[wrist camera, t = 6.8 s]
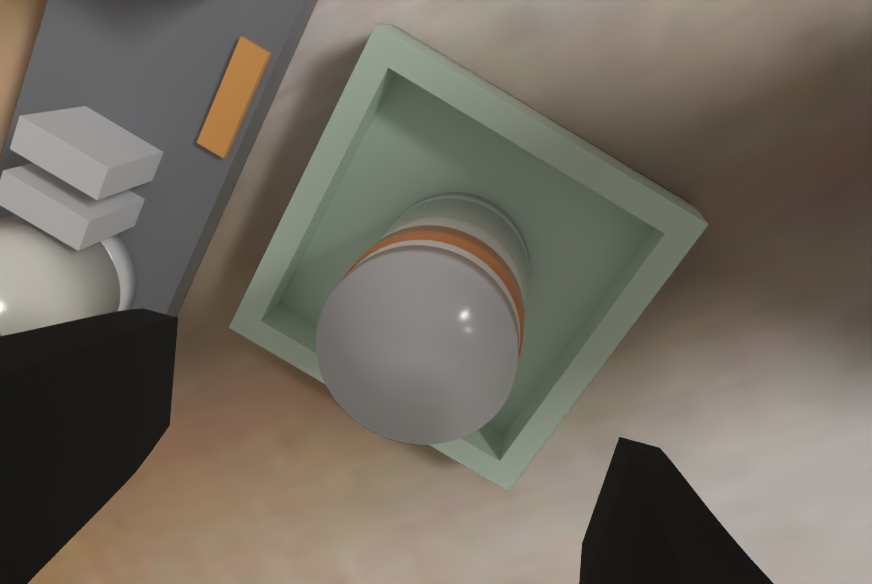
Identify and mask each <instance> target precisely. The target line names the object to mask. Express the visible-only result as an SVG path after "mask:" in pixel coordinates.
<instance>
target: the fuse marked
mask: <svg viewBox="0 0 872 584" xmlns="http://www.w3.org/2000/svg"><path fill="white" fill-rule="evenodd" d="M529 269H530V261H529V253H528V249H527V245H526V242H525V239H524V237H523V234H522V233H521V231H520V229H519V227H518V226H517V225H516V223H515V222H514V221H513V219H512V218H511V217H510V216H509V215H508V214H507V213H506V212H505V211H504V210H502V209H501V208H500V207H499V206H497V205H496V204H494V203H492V202H491V201H489V200H487V199H484V198H482V197H480V196H476V195H473V194H468V193H461V192H448V193H440V194H436V195H432V196H429V197H427V198H424V199H422V200H420V201H418V202H417V203H415V204H413V205H412V206H411V207H409V208H408V209H407V210H406V211H405V212H404V213H403V214H402V215H401V216H400V217H399V218H398V219H397V220H396V221H395V223H394V224H393V225H392V226H391V227H390V228H389V229H388V230H387V232H386V233H385V234H384V235H383V236H382V237H381V238H380V239H379V240H378V241H377V242H376V243H375V244H373V245H372V246H371V247H370V248H369V249H368V250H367V251H366V252H365V253H364V254H363V255H362V256H361V257H360V258H359V259H358V260H357V261H356V263H355V264H354V265H353V266H352V267H351V268H350V269H349V271H348V272H347V273H346V275H345V276H344V278H343V279H342V281H341V283H340V284H339V285H338V286H337V287H336V288H335V290H334V291H333V292H332V294H331V295H330V297H329V298H328V300H327V302H326V303H325V305H324V307H323V309H322V312H321V315H320V317H319V320H318V325H317V330H316V343H315V344H316V356H317V361H318V366H319V369H320V372H321V375H322V378H323V380H324V382H325V384H326V386H327V388H328V390H329V392H330V393H331V395H332V396H333V398H334V399H335V401H336V402H337V403H338V404H339V405H340V407H341V408H342V409H343V410H344V411H345V412H346V413H347V414H348V415H349V416H350V417H352V418H353V419H354V420H355V421H357V422H358V423H359V424H361V425H362V426H363V427H365V428H367V429H369V430H370V431H372V432H374V433H376V434H378V435H381V436H383V437H385V438H388V439H391V440H395V441H398V442H403V443H408V444H418V445H431V444H440V443H446V442H450V441H454V440H457V439H460V438H463V437H465V436H467V435H469V434H471V433H473V432H475V431H476V430H478V429H480V428H481V427H483V426H484V425H485V424H486V423H487V422H489V421H490V420H491V419H492V418H493V417H494V416H495V415H496V414H497V413H498V411H499V410H500V409H501V407H502V406H503V404H504V403H505V401H506V399H507V397H508V395H509V393H510V391H511V389H512V386H513V383H514V380H515V375H516V369H517V363H518V360H519V357H520V354H521V348H522V342H523V334H524V326H525V301H526V294H527V286H528V279H529Z"/></svg>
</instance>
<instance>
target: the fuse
mask: <svg viewBox="0 0 872 584" xmlns="http://www.w3.org/2000/svg"><path fill="white" fill-rule="evenodd" d="M135 294H136V273H135V268H134V264H133V261H132V258H131V256H130V254H129V251H128V249H127V247H126V246H125V244H124V242H123V241H122V239H121V238H120V237H119V235H118V234H116V235H113V236H111V237H109V238H107V239H104V240H102V241H100V242H98V243H95V244H93V245H91V246H89V247H86V248H84V249H82V250H79V251H78V250H76V249H74V248H72V247H71V246H69V245H67V244H66V243H64V242H62V241H60V240H59V239H57V238H55V237H54V236H52V235H50V234H49V233H47V232H45V231H43V230H42V229H40V228H38V227H37V226H35V225H33V224H31V223H30V222H28V221H26V220H25V219H23V218H21V217H19V216H18V215H16V214H15V215H12V216H9V217H6V218H3V219H0V336H4V335H9V334H14V333H19V332H24V331H28V330H33V329H37V328H42V327H46V326H51V325H55V324H60V323H64V322H69V321H73V320H78V319H82V318H87V317H92V316H96V315H101V314H106V313H112V312H117V311H123V310H130V309H131V307H132V305H133V302H134V299H135Z"/></svg>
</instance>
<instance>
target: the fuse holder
mask: <svg viewBox="0 0 872 584" xmlns="http://www.w3.org/2000/svg"><path fill="white" fill-rule="evenodd" d="M316 3H317V0H48V1H47V5H46V8H45V11H44V15H43V18H42V21H41V25H40V28H39V31H38V35H37V38H36V41H35V45H34V48H33V51H32V55H31V58H30V61H29V65H28V68H27V71H26V75H25V78H24V81H23V85H22V88H21V91H20V95H19V98H18V101H17V105H16V108H15V111H14V115H13V118H12V121H11V125H10V128H9V131H8V135H7V138H6V142H5V145H4V148H3V152H2V155H1V158H0V219H3V218H6V217H9V216H12V215H15V214H16V215H18V216H19V217H21V218H23V219H25V220H26V221H28V222H30V223H31V224H33V225H35V226H37V227H38V228H40V229H42V230H43V231H45V232H47V233H49V234H50V235H52V236H54V237H55V238H57V239H59V240H60V241H62V242H64V243H66V244H67V245H69V246H71V247H72V248H74V249H76V250H78V251H79V250H82V249H84V248H86V247H89V246H91V245H93V244H95V243H98V242H100V241H102V240H104V239H107V238H109V237H111V236H113V235H116V234H118V235H119V237H120V238H121V239H122V241H123V242H124V244H125V246H126V247H127V249H128V251H129V254H130V256H131V258H132V261H133V264H134V268H135V273H136V294H135V299H134V302H133V305H132V307H131V309H140V308H144V309H148V310H151V311H155V312H159V313H162V314H166V315H170V316H174V317H176V316H177V314H178V312H179V310H180V307H181V305H182V303H183V301H184V298H185V296H186V294H187V292H188V289H189V287H190V285H191V283H192V280H193V278H194V276H195V274H196V272H197V269H198V267H199V265H200V263H201V260H202V258H203V256H204V254H205V251H206V249H207V247H208V245H209V242H210V240H211V238H212V236H213V233H214V231H215V229H216V227H217V224H218V222H219V220H220V218H221V216H222V213H223V211H224V209H225V207H226V204H227V202H228V200H229V198H230V195H231V193H232V191H233V189H234V186H235V184H236V182H237V180H238V177H239V175H240V173H241V171H242V168H243V166H244V164H245V162H246V159H247V157H248V155H249V153H250V151H251V148H252V146H253V144H254V142H255V139H256V137H257V135H258V133H259V130H260V128H261V126H262V124H263V121H264V119H265V117H266V115H267V112H268V110H269V108H270V106H271V103H272V101H273V99H274V97H275V95H276V92H277V90H278V88H279V86H280V83H281V81H282V79H283V77H284V74H285V72H286V70H287V68H288V65H289V63H290V61H291V59H292V56H293V54H294V52H295V50H296V47H297V45H298V43H299V41H300V38H301V36H302V34H303V32H304V30H305V27H306V25H307V23H308V21H309V18H310V16H311V14H312V12H313V9H314V7H315V5H316Z"/></svg>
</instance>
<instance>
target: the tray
mask: <svg viewBox="0 0 872 584" xmlns="http://www.w3.org/2000/svg"><path fill="white" fill-rule="evenodd" d="M448 192H461V193H468V194H473V195H476V196H480V197H482V198H484V199H487V200H489V201H491V202H492V203H494V204H496V205H497V206H499V207H500V208H501V209H502V210H504V211H505V212H506V213H507V214H508V215H509V216H510V217H511V218H512V219H513V221H514V222H515V223H516V225H517V226H518V227H519V229H520V231H521V233H522V234H523V237H524V239H525V242H526V245H527V249H528V253H529V261H530V269H529V279H528V286H527V294H526V301H525V326H524V334H523V342H522V348H521V354H520V357H519V360H518V363H517V369H516V375H515V380H514V383H513V386H512V389H511V391H510V393H509V395H508V397H507V399H506V401H505V403H504V404H503V406H502V407H501V409H500V410H499V411H498V413H497V414H496V415H495V416H494V417H493V418H492V419H491V420H490V421H489V422H487V423H486V424H485V425H484V426H483V427H481V428H480V429H478V430H476V431H475V432H473V433H471V434H469V435H467V436H465V437H463V438H460V439H457V440H454V441H450V442H446V443H440V444H431V445H430V446H432V447H433V448H435V449H437V450H438V451H440V452H442V453H444V454H445V455H447V456H449V457H450V458H452V459H454V460H455V461H457V462H459V463H461V464H462V465H464V466H466V467H467V468H469V469H471V470H473V471H474V472H476V473H478V474H479V475H481V476H483V477H485V478H486V479H488V480H490V481H491V482H493V483H495V484H497V485H498V486H500V487H502V488H503V489H505V490H507V491H509V490H510V488H511V487H512V486H513V484H514V483H515V482H516V480H517V479H518V478H519V476H520V475H521V474H522V472H523V471H524V470H525V468H526V467H527V466H528V464H529V463H530V462H531V460H532V459H533V458H534V456H535V455H536V454H537V452H538V451H539V450H540V448H541V447H542V446H543V444H544V443H545V442H546V440H547V439H548V438H549V436H550V435H551V434H552V432H553V431H554V430H555V428H556V427H557V426H558V424H559V423H560V422H561V420H562V419H563V418H564V416H565V415H566V414H567V412H568V411H569V410H570V408H571V407H572V406H573V404H574V403H575V402H576V400H577V399H578V398H579V396H580V395H581V394H582V392H583V391H584V390H585V388H586V387H587V386H588V384H589V383H590V382H591V380H592V379H593V378H594V376H595V375H596V374H597V372H598V371H599V370H600V368H601V367H602V366H603V364H604V363H605V362H606V360H607V359H608V358H609V356H610V355H611V354H612V352H613V351H614V350H615V348H616V347H617V346H618V344H619V343H620V342H621V340H622V339H623V338H624V336H625V335H626V334H627V332H628V331H629V330H630V328H631V327H632V326H633V324H634V323H635V322H636V320H637V319H638V318H639V316H640V315H641V314H642V313H643V311H644V310H645V309H646V307H647V306H648V305H649V303H650V302H651V301H652V299H653V298H654V297H655V295H656V294H657V293H658V291H659V290H660V289H661V287H662V286H663V285H664V283H665V282H666V281H667V279H668V278H669V277H670V275H671V274H672V273H673V271H674V270H675V269H676V267H677V266H678V265H679V263H680V262H681V261H682V259H683V258H684V257H685V255H686V254H687V253H688V251H689V250H690V249H691V247H692V246H693V245H694V243H695V242H696V241H697V239H698V238H699V237H700V235H701V234H702V233H703V231H704V230H705V229H706V227H707V226H708V225H709V224H708V223H707V222H706V220H705V219H704V218H703V216H702V215H701V214H700V213H699V211H698V210H697V209H696V207H694V206H693V205H691V204H689V203H688V202H686V201H684V200H683V199H681V198H679V197H678V196H676V195H674V194H673V193H671V192H669V191H668V190H666V189H664V188H663V187H661V186H659V185H658V184H656V183H654V182H653V181H651V180H649V179H648V178H646V177H644V176H643V175H641V174H639V173H638V172H636V171H634V170H633V169H631V168H630V167H628V166H626V165H625V164H623V163H621V162H620V161H618V160H616V159H615V158H613V157H611V156H610V155H608V154H606V153H605V152H603V151H601V150H600V149H598V148H596V147H595V146H593V145H591V144H590V143H588V142H586V141H585V140H583V139H581V138H580V137H578V136H576V135H575V134H573V133H571V132H570V131H568V130H566V129H565V128H563V127H562V126H560V125H558V124H557V123H555V122H553V121H552V120H550V119H548V118H547V117H545V116H543V115H542V114H540V113H538V112H537V111H535V110H533V109H532V108H530V107H528V106H527V105H525V104H523V103H522V102H520V101H518V100H517V99H515V98H513V97H512V96H510V95H508V94H507V93H505V92H503V91H502V90H500V89H498V88H497V87H495V86H494V85H492V84H490V83H489V82H487V81H485V80H484V79H482V78H480V77H479V76H477V75H475V74H474V73H472V72H470V71H469V70H467V69H465V68H464V67H462V66H460V65H459V64H457V63H455V62H454V61H452V60H450V59H449V58H447V57H445V56H444V55H442V54H440V53H439V52H437V51H435V50H434V49H432V48H431V47H429V46H427V45H426V44H424V43H422V42H421V41H419V40H417V39H416V38H414V37H412V36H411V35H409V34H407V33H406V32H404V31H402V30H401V29H399V28H397V27H396V26H394V25H385V24H376V25H375V27H374V29H373V31H372V33H371V35H370V37H369V39H368V41H367V43H366V45H365V47H364V49H363V52H362V54H361V56H360V58H359V60H358V62H357V64H356V66H355V68H354V70H353V72H352V74H351V76H350V78H349V80H348V83H347V85H346V87H345V89H344V91H343V93H342V95H341V97H340V99H339V101H338V103H337V105H336V107H335V109H334V111H333V113H332V116H331V118H330V120H329V122H328V124H327V126H326V128H325V130H324V132H323V134H322V136H321V138H320V140H319V142H318V144H317V147H316V149H315V151H314V153H313V155H312V157H311V159H310V161H309V163H308V165H307V167H306V169H305V171H304V173H303V175H302V178H301V180H300V182H299V184H298V186H297V188H296V190H295V192H294V194H293V196H292V198H291V200H290V202H289V204H288V206H287V208H286V211H285V213H284V215H283V217H282V219H281V221H280V223H279V225H278V227H277V229H276V231H275V233H274V235H273V237H272V239H271V242H270V244H269V246H268V248H267V250H266V252H265V254H264V256H263V258H262V260H261V262H260V264H259V266H258V268H257V270H256V272H255V275H254V277H253V279H252V281H251V283H250V285H249V287H248V289H247V291H246V293H245V295H244V297H243V299H242V301H241V303H240V306H239V308H238V310H237V312H236V314H235V316H234V318H233V320H232V322H231V324H230V326H229V328H230V329H232V330H233V331H235V332H237V333H238V334H240V335H242V336H244V337H245V338H247V339H249V340H250V341H252V342H254V343H256V344H257V345H259V346H261V347H262V348H264V349H266V350H268V351H269V352H271V353H273V354H274V355H276V356H278V357H279V358H281V359H283V360H285V361H286V362H288V363H290V364H291V365H293V366H295V367H297V368H298V369H300V370H302V371H303V372H305V373H307V374H309V375H310V376H312V377H314V378H315V379H317V380H319V381H320V382H322V383H324V384H325V382H324V380H323V378H322V375H321V372H320V369H319V366H318V361H317V356H316V344H315V343H316V330H317V325H318V320H319V317H320V315H321V312H322V309H323V307H324V305H325V303H326V302H327V300H328V298H329V297H330V295H331V294H332V292H333V291H334V290H335V288H336V287H337V286H338V285H339V284H340V283H341V281H342V279H343V278H344V276H345V275H346V273H347V272H348V271H349V269H350V268H351V267H352V266H353V265H354V264H355V263H356V261H357V260H358V259H359V258H360V257H361V256H362V255H363V254H364V253H365V252H366V251H367V250H368V249H369V248H370V247H371V246H372V245H373V244H375V243H376V242H377V241H378V240H379V239H380V238H381V237H382V236H383V235H384V234H385V233H386V232H387V230H388V229H389V228H390V227H391V226H392V225H393V224H394V223H395V221H396V220H397V219H398V218H399V217H400V216H401V215H402V214H403V213H404V212H405V211H406V210H407V209H408V208H409V207H411V206H412V205H413V204H415V203H417V202H418V201H420V200H422V199H424V198H427V197H429V196H432V195H436V194H440V193H448Z"/></svg>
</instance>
